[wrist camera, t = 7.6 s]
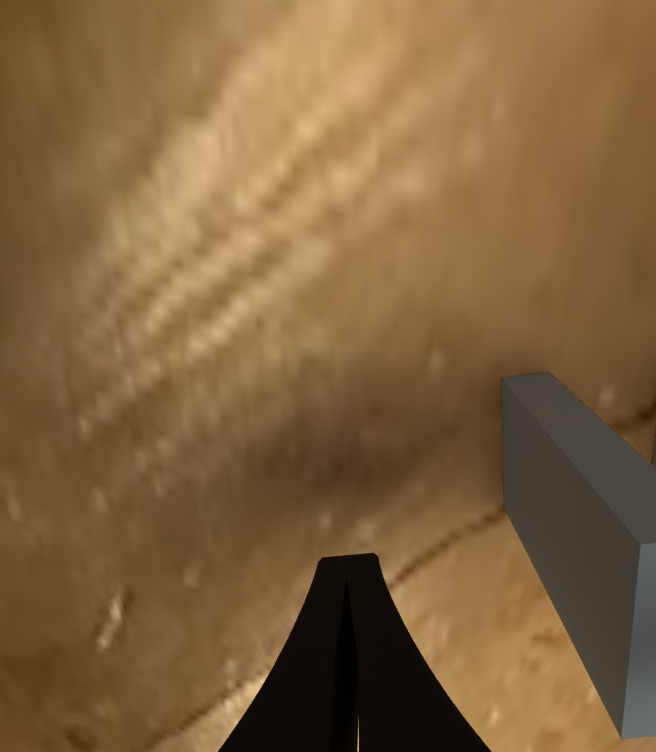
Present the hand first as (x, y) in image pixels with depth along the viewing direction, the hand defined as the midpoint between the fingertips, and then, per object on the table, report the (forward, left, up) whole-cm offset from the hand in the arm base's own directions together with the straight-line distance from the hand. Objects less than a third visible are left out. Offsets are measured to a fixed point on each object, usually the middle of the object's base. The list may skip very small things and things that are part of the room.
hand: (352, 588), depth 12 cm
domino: (-6, +2, -6) cm, 8 cm away
